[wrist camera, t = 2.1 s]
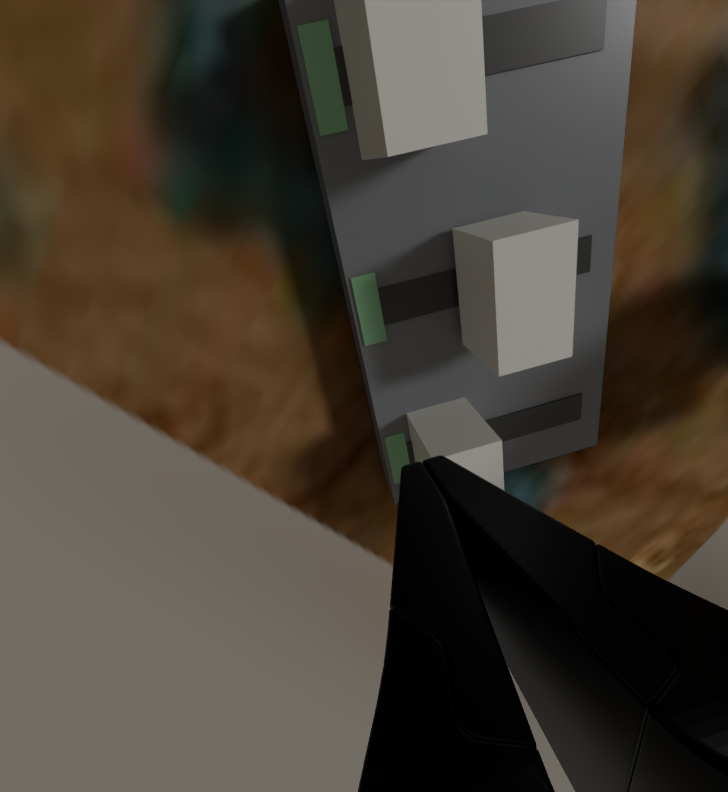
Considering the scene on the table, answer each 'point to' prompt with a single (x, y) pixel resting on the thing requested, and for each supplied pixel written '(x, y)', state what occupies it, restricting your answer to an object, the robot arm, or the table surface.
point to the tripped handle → (517, 289)
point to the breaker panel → (464, 201)
